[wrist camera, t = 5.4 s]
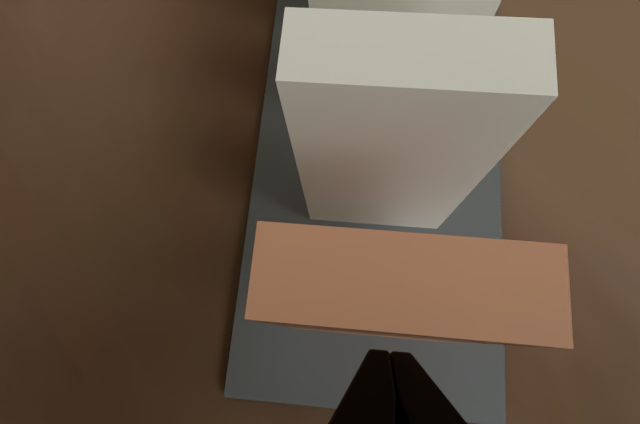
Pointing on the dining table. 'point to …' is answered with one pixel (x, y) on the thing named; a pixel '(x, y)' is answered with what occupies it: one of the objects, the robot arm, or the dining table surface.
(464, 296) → the domino
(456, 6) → the domino
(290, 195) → the mat
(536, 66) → the domino
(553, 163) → the dining table surface
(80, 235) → the dining table surface
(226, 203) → the dining table surface
